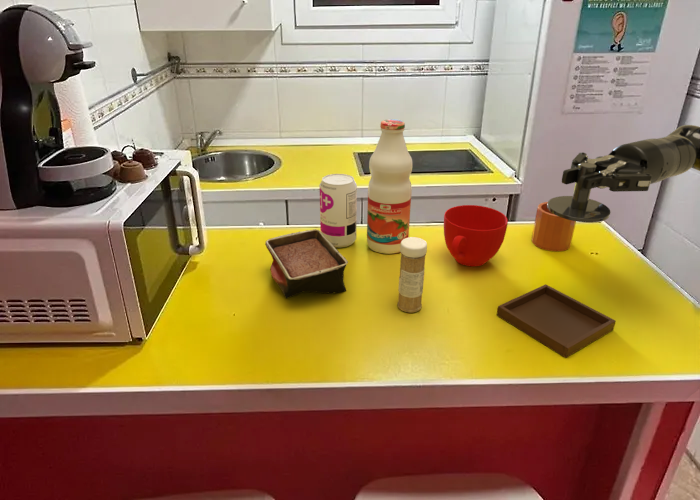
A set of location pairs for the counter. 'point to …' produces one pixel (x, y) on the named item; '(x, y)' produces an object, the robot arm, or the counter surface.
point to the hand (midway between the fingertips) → (572, 180)
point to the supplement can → (338, 209)
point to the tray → (556, 319)
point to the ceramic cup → (474, 233)
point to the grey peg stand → (579, 202)
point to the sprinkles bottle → (411, 274)
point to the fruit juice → (389, 190)
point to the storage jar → (552, 230)
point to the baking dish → (306, 263)
